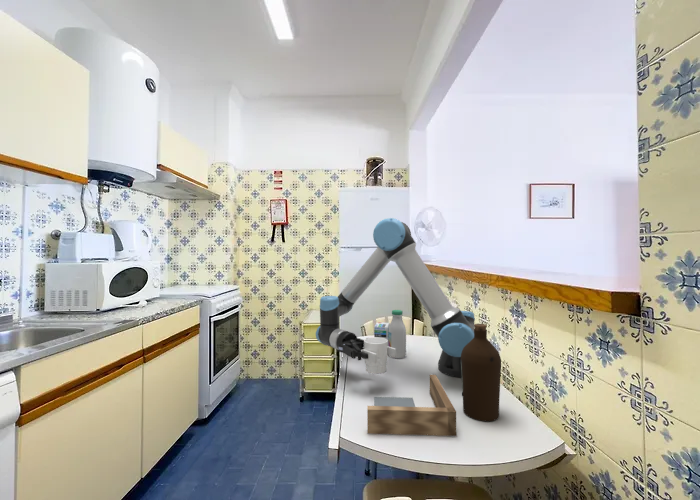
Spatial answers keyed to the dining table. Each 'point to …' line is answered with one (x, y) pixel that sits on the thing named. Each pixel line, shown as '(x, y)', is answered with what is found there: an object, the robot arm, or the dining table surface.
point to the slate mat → (394, 401)
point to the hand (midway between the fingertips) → (385, 355)
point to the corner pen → (415, 416)
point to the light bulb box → (381, 330)
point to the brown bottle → (481, 377)
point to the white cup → (380, 349)
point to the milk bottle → (397, 334)
